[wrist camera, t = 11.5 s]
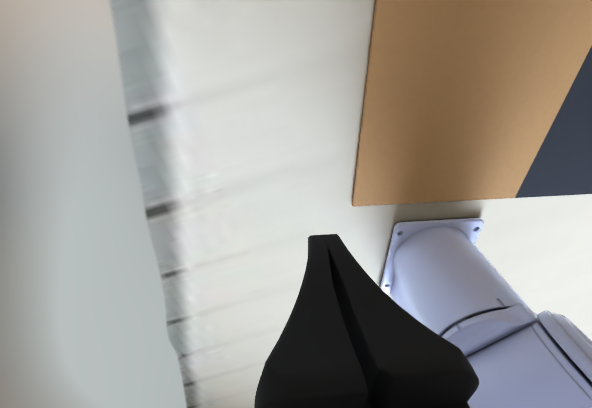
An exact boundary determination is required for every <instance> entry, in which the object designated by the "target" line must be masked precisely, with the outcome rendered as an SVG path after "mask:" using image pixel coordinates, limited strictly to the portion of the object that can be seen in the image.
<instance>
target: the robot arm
mask: <svg viewBox="0 0 592 408" xmlns="http://www.w3.org/2000/svg"><path fill="white" fill-rule="evenodd" d="M483 224H484V222H483V220H482V219H480V218H468V219H450V220H432V221H414V222H400V223H397V224H396V225H395V227H394V231H393V235H392V239H391V244H390V248H389V252H388V256H387V261H386V265H385V269H384V274H383V278H382V282H381V287H379V286H378V285H377V284H376V283H375V282H374V281H373V280H372V279H371V278H370V277H369V275H368V274H367V273H366V272H365V271H364V270H363V269H362V267H361V266H360V265H359V264H358V262H357V261H356V260H355V259H354V257H353V256H352V255H351V253H350V252H349V251H348V249H347V248H346V246H345V245H344V243H343V242H342V240H341V239H340V237H339V236H338V235H337V234H330V235H313V236H310V237H308V261H307V266H306V271H305V275H304V278H303V282H302V286H301V289H300V292H299V295H298V297H297V300H296V303H295V305H294V308H293V310H292V313H291V315H290V317H289V320H288V322H287V324H286V326H285V328H284V330H283V332H282V334H281V336H280V338H279V340H278V342H277V343H276V345H275V347H274V349H273V350H272V352H271V354H270V355H269V357H268V359H267V361H266V363H265V366H264V369H263V372H262V375H261V378H260V381H259V384H258V387H257V391H256V396H255V408H592V341H591V340H590V339H589V338H588V337H587V336H586V335H585V334H584V333H583V332H582V331H580V330H579V329H578V328H577V327H576V326H575V325H574V324H573V323H572V322H571V321H570V320H568V319H567V318H566V317H565V316H563V315H559V314H555V313H553V314H552V313H551V312H549V311H543V312H541V313H539V314H538V315H537V314H535V313H534V312H533V311H532V310H531V309H530V308H529V307H528V306H527V305H526V303H525V302H524V301H523V300H522V299H521V298H520V297H519V295H518V294H517V293H516V292H515V291H514V290H513V289H512V287H511V286H510V285H509V284H508V283H507V282H506V281H505V279H504V278H503V277H502V276H501V275H500V274H499V273H498V271H497V270H496V269H495V268H494V267H493V266H492V265H491V263H490V262H489V261H488V260H487V259H486V258H485V257H484V255H483V254H482V253H481V252H480V251H479V250H478V248H477V247H476V246H475V245H474V244H475V241H476V239H477V237H478V235H479V233H480V231H481V228H482V226H483ZM475 227H476V228H475ZM400 231H401V232H400ZM398 232H400V233H398ZM387 294H390V295H391V297H392V299H391V298H390V297H389V296H388V295H387Z"/></svg>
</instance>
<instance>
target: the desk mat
mask: <svg viewBox="0 0 592 408" xmlns="http://www.w3.org/2000/svg"><path fill="white" fill-rule="evenodd" d="M578 194H592V0H376V2H375V11H374V20H373V28H372V37H371V45H370V54H369V63H368V71H367V80H366V89H365V97H364V106H363V114H362V123H361V132H360V140H359V149H358V157H357V166H356V175H355V183H354V192H353V200H352V206H369V205H388V204H407V203H426V202H445V201H464V200H483V199H502V198H521V197H540V196H559V195H578Z"/></svg>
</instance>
